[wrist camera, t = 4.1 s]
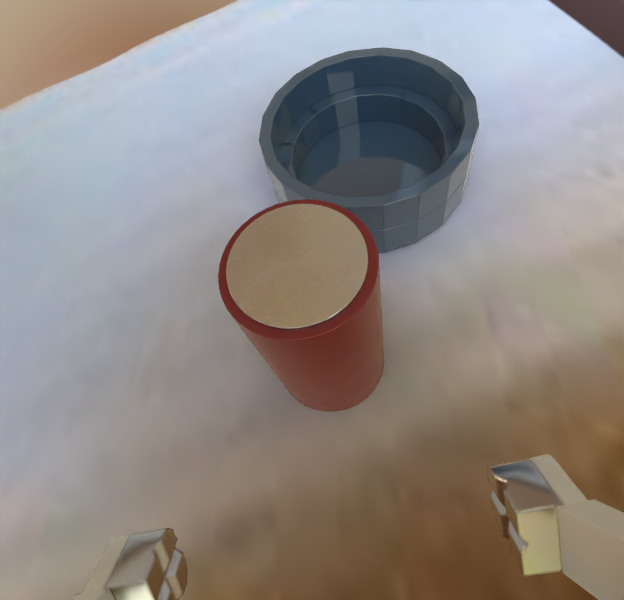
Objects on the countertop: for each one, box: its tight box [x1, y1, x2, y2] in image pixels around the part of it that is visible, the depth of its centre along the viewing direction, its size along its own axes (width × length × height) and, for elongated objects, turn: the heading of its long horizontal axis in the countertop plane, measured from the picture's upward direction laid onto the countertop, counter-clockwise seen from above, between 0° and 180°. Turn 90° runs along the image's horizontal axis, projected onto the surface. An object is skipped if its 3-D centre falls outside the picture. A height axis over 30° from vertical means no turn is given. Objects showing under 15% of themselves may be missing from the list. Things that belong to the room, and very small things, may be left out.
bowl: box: [259, 48, 479, 252], centre depth 31 cm, size 14×14×6 cm
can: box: [218, 199, 384, 411], centre depth 23 cm, size 6×6×12 cm
